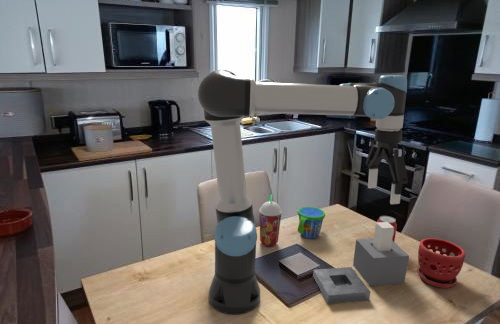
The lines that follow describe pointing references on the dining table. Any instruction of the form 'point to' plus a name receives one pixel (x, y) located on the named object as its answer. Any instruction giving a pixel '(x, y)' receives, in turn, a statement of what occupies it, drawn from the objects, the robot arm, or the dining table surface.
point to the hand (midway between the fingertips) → (382, 195)
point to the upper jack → (380, 263)
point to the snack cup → (310, 221)
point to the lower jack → (341, 285)
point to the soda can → (390, 221)
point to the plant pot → (439, 262)
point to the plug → (383, 236)
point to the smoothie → (269, 223)
